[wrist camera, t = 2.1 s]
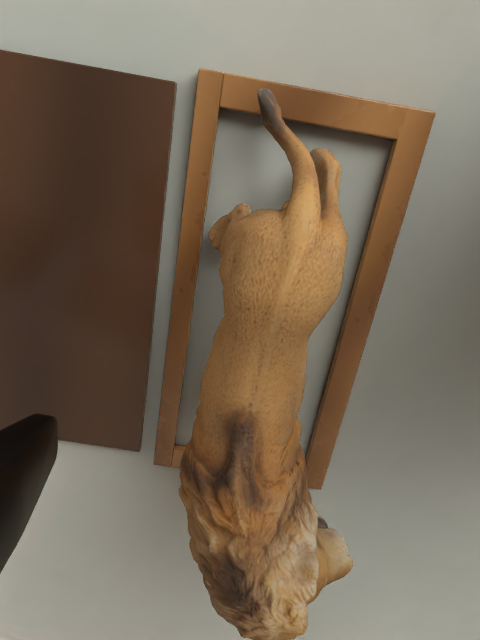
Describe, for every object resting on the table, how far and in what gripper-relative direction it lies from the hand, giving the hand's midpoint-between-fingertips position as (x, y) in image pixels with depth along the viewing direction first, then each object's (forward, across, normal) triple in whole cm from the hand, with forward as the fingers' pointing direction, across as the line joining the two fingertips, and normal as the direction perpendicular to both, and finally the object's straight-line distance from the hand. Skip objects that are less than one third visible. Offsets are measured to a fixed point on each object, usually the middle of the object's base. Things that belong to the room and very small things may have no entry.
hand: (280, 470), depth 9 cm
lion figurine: (+9, 0, 0) cm, 9 cm away
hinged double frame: (+9, +4, 0) cm, 10 cm away
